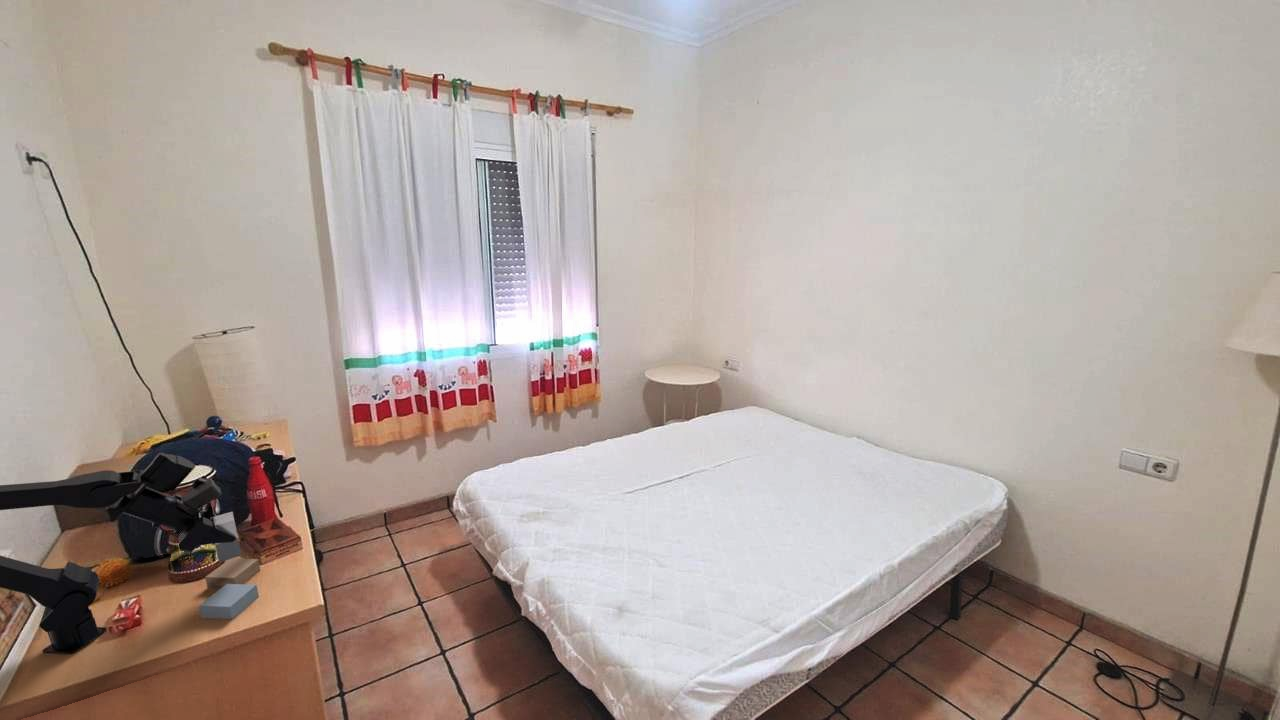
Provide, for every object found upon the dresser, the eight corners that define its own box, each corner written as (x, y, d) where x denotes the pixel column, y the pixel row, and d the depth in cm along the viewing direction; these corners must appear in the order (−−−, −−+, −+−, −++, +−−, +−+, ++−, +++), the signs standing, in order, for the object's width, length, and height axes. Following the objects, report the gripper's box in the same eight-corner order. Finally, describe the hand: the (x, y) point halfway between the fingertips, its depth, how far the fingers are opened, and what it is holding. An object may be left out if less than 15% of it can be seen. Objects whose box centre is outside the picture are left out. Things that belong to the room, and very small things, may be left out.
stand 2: (201, 617, 108) (198, 605, 107) (229, 595, 114) (226, 583, 114) (232, 618, 107) (230, 606, 106) (258, 596, 114) (256, 584, 113)
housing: (219, 562, 113) (211, 526, 111) (217, 552, 117) (210, 517, 115) (241, 555, 116) (234, 520, 114) (239, 545, 119) (232, 511, 117)
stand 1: (207, 588, 117) (205, 577, 116) (233, 569, 123) (230, 558, 123) (236, 589, 116) (234, 578, 116) (260, 570, 123) (258, 559, 122)
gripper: (189, 490, 102) (265, 519, 112) (187, 461, 115) (255, 489, 125) (144, 540, 99) (226, 565, 108) (147, 504, 112) (220, 530, 122)
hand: (233, 534), depth 116 cm, fingers closed on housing, 5 cm apart
